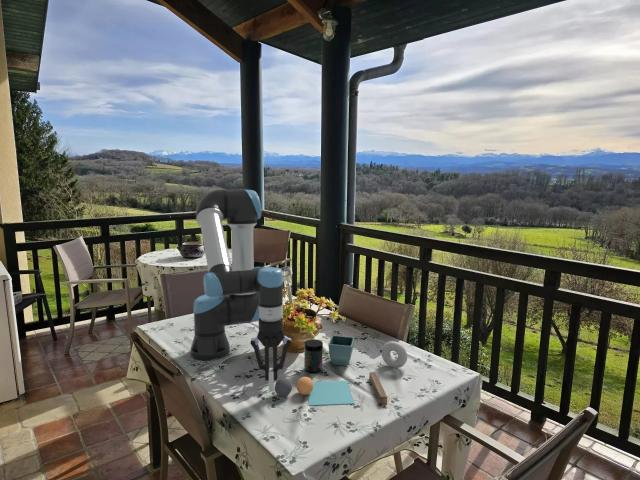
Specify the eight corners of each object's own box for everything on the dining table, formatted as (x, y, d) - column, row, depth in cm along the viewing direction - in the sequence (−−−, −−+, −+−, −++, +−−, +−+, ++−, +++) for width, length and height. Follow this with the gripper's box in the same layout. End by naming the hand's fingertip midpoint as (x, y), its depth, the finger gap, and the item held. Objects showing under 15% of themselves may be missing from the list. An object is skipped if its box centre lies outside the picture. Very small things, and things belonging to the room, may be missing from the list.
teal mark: (309, 405, 119) (309, 405, 119) (306, 382, 133) (306, 382, 133) (354, 403, 120) (354, 403, 120) (347, 381, 134) (347, 380, 134)
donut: (408, 369, 144) (409, 343, 142) (404, 372, 141) (405, 346, 139) (383, 362, 149) (384, 337, 148) (379, 365, 146) (380, 340, 145)
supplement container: (318, 376, 138) (318, 348, 136) (301, 372, 140) (301, 344, 139) (325, 368, 144) (325, 341, 142) (308, 364, 146) (308, 338, 145)
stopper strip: (380, 404, 120) (380, 396, 120) (369, 378, 136) (369, 372, 136) (387, 404, 120) (387, 396, 120) (374, 378, 136) (375, 371, 136)
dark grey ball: (280, 380, 121) (294, 390, 122) (282, 371, 127) (295, 381, 127) (270, 393, 122) (284, 403, 123) (272, 384, 127) (285, 393, 128)
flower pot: (351, 369, 143) (351, 346, 142) (327, 367, 145) (328, 344, 143) (354, 359, 151) (354, 337, 150) (331, 356, 153) (332, 335, 152)
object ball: (296, 398, 123) (296, 382, 122) (296, 389, 128) (296, 373, 128) (314, 398, 124) (314, 381, 123) (312, 389, 129) (312, 373, 128)
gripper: (248, 322, 117) (249, 396, 120) (291, 321, 118) (291, 394, 121) (250, 314, 124) (252, 383, 127) (291, 313, 125) (292, 382, 128)
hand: (271, 389), depth 124 cm, fingers closed
